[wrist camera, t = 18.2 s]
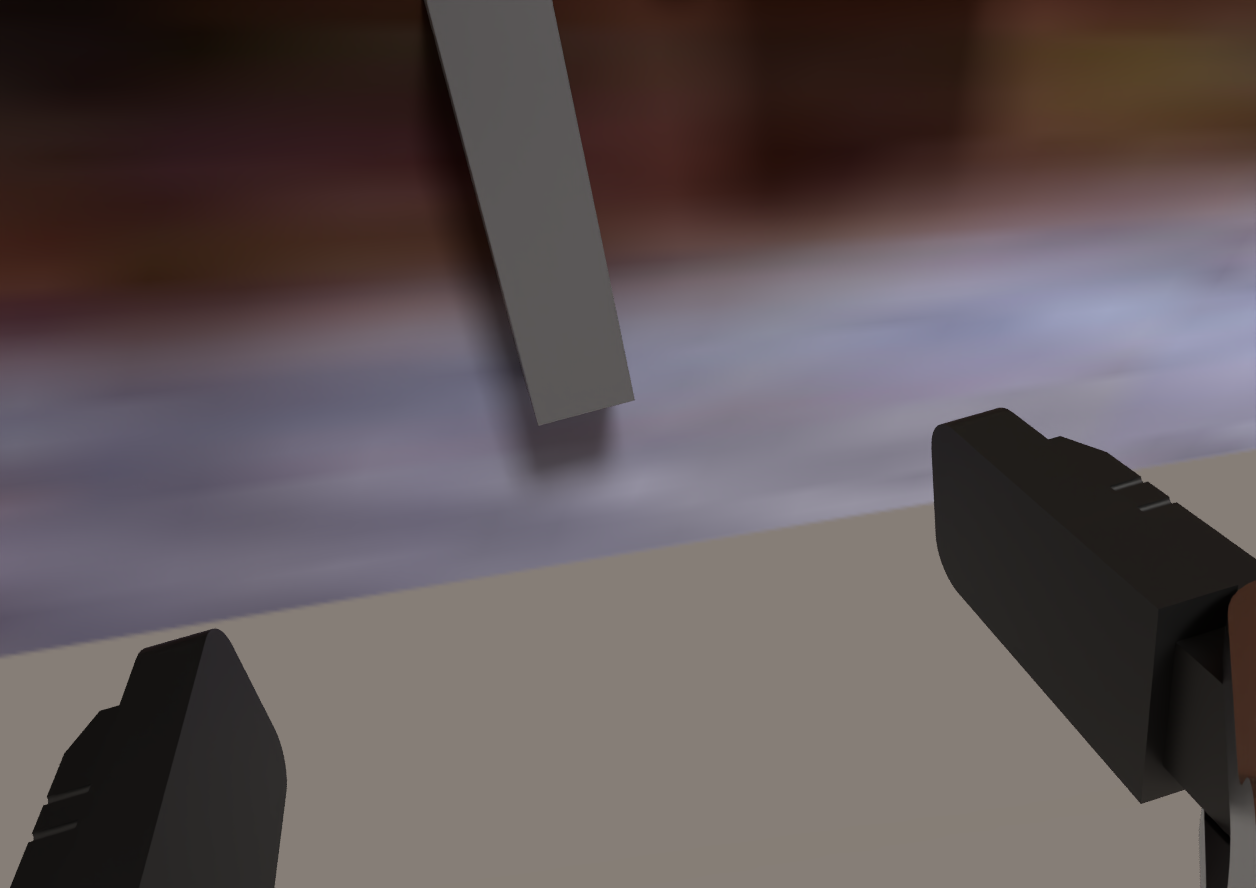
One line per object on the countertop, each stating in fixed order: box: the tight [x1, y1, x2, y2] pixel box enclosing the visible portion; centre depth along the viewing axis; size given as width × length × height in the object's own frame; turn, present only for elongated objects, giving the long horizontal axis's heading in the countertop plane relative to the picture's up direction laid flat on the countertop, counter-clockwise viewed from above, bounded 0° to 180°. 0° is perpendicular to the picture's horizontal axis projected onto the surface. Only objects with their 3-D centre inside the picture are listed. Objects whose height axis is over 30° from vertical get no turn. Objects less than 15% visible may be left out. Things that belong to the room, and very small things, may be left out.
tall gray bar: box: [424, 0, 635, 426], centre depth 29 cm, size 12×3×4 cm, turn 11°
